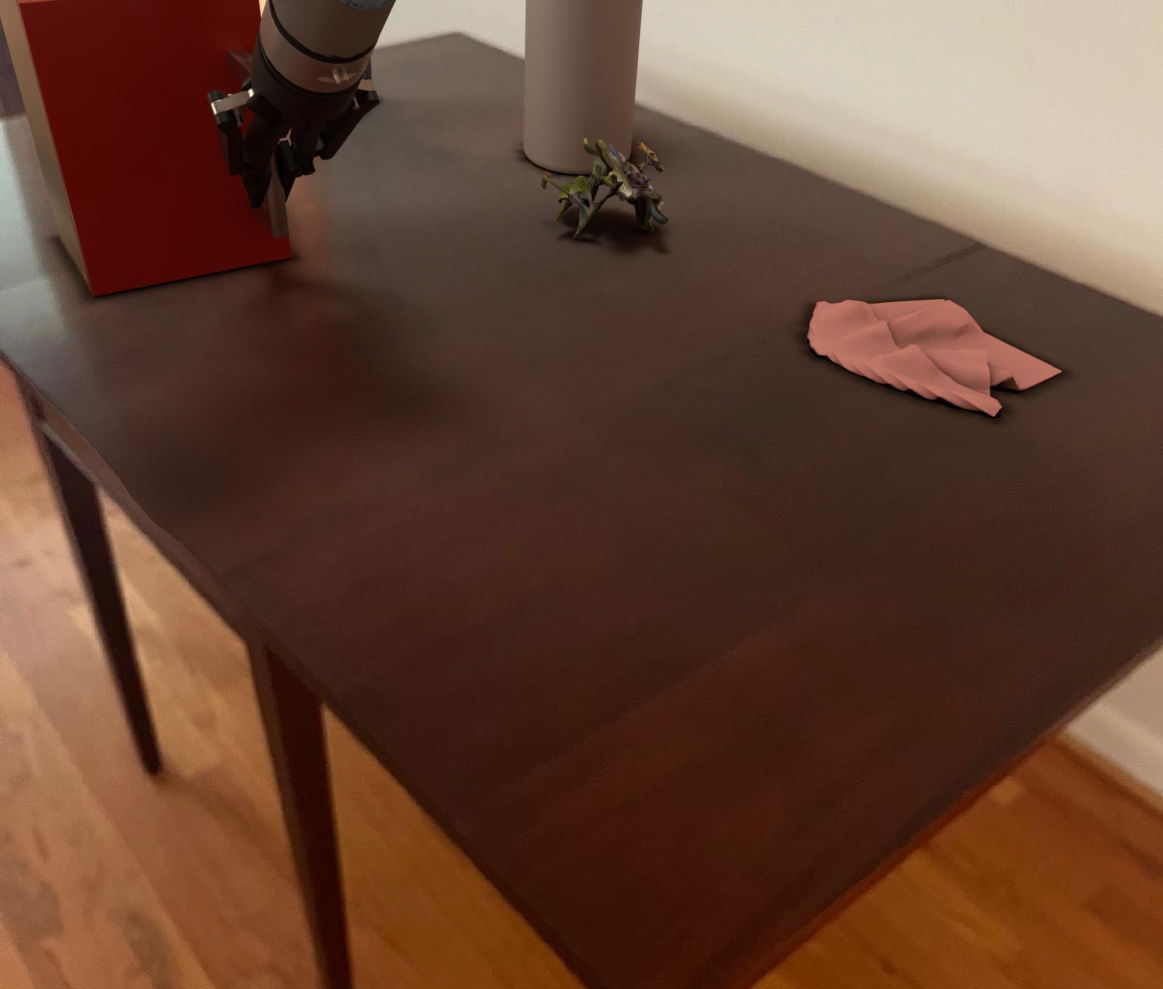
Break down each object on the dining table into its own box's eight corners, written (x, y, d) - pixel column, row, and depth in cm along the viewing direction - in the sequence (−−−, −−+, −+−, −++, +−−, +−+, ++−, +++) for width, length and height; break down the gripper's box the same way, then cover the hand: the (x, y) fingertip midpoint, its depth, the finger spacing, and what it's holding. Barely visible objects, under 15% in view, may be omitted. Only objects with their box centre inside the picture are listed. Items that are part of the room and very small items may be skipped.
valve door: (316, 285, 104) (284, 1, 89) (112, 328, 97) (36, 26, 81) (288, 253, 109) (252, -22, 93) (91, 292, 101) (15, -1, 85)
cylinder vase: (646, 171, 129) (668, -76, 113) (543, 181, 126) (550, -73, 109) (607, 132, 138) (622, -103, 121) (509, 140, 134) (511, -101, 118)
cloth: (785, 300, 107) (789, 276, 106) (1005, 301, 109) (1013, 277, 108) (841, 419, 92) (847, 394, 90) (1096, 417, 94) (1106, 392, 93)
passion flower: (636, 277, 121) (699, 211, 111) (551, 280, 115) (610, 210, 105) (602, 186, 123) (661, 113, 113) (518, 184, 117) (572, 107, 107)
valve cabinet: (287, 253, 109) (251, -25, 93) (90, 292, 102) (14, -4, 85) (246, 206, 117) (206, -59, 101) (60, 239, 109) (-16, -42, 93)
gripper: (229, 112, 76) (196, 246, 98) (427, 84, 82) (355, 216, 104) (191, 5, 76) (167, 163, 97) (392, -15, 82) (328, 138, 104)
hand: (264, 190), depth 101 cm, fingers closed on valve door, 2 cm apart
